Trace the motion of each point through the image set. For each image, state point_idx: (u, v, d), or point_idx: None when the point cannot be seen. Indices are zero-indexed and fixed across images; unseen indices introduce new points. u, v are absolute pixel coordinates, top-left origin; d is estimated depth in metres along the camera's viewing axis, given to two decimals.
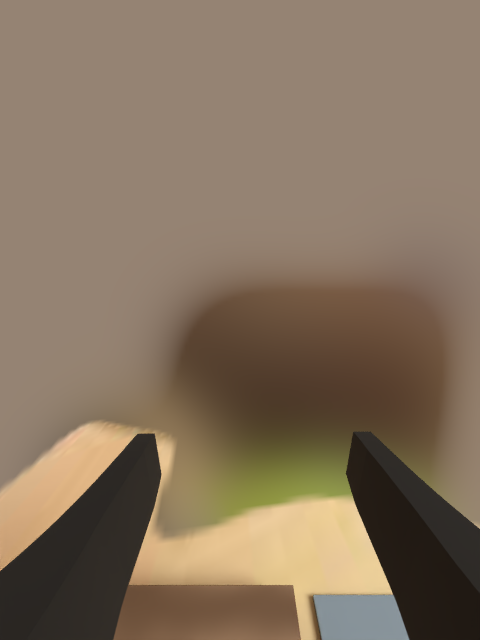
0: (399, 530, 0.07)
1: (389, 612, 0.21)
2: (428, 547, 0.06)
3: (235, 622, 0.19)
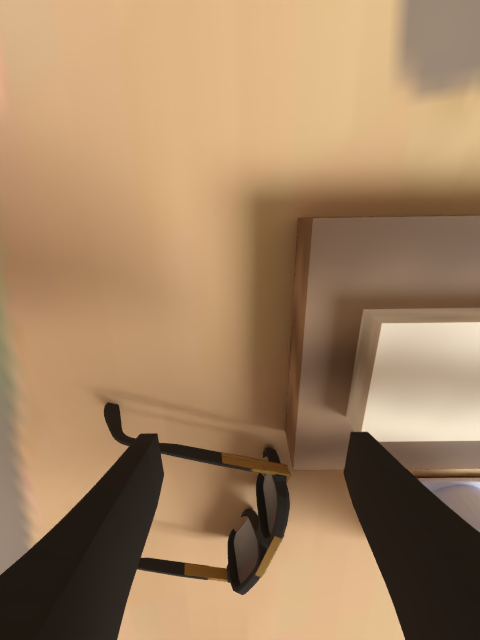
0: (395, 530, 0.07)
1: None
2: (424, 547, 0.06)
3: None
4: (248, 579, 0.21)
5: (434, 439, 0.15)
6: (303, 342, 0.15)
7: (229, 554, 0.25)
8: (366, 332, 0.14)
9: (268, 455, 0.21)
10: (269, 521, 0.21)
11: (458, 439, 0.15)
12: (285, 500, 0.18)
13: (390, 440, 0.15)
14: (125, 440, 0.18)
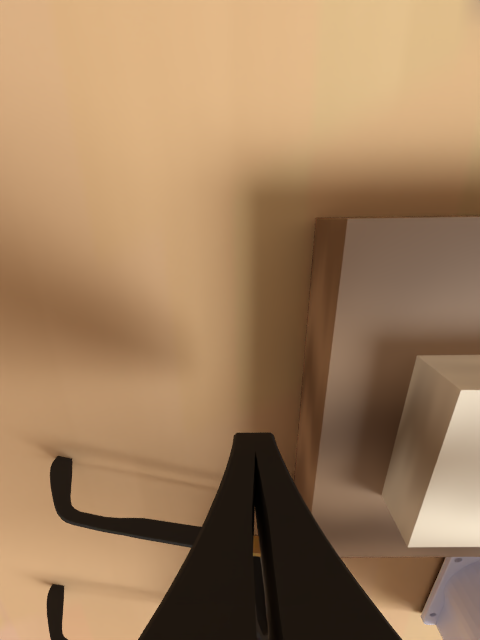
0: (264, 530, 0.07)
1: None
2: (270, 548, 0.06)
3: None
4: None
5: None
6: (325, 400, 0.10)
7: None
8: (423, 392, 0.09)
9: None
10: None
11: None
12: None
13: (453, 544, 0.10)
14: (72, 517, 0.13)
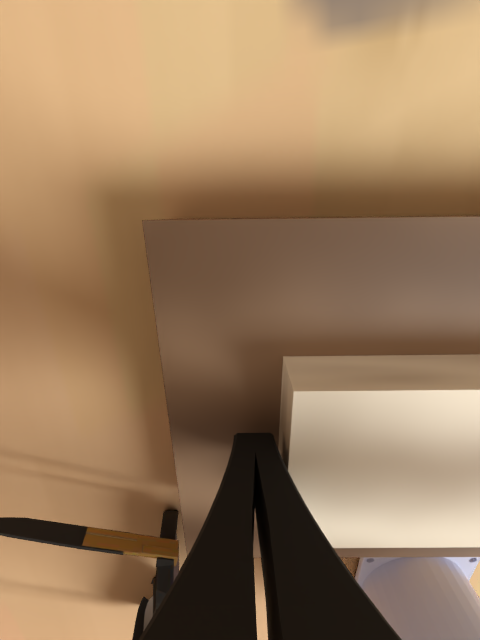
0: (264, 530, 0.07)
1: None
2: (269, 548, 0.06)
3: None
4: None
5: (392, 544, 0.10)
6: (167, 401, 0.10)
7: (135, 630, 0.20)
8: (285, 393, 0.09)
9: (163, 522, 0.16)
10: None
11: (427, 545, 0.10)
12: None
13: None
14: None
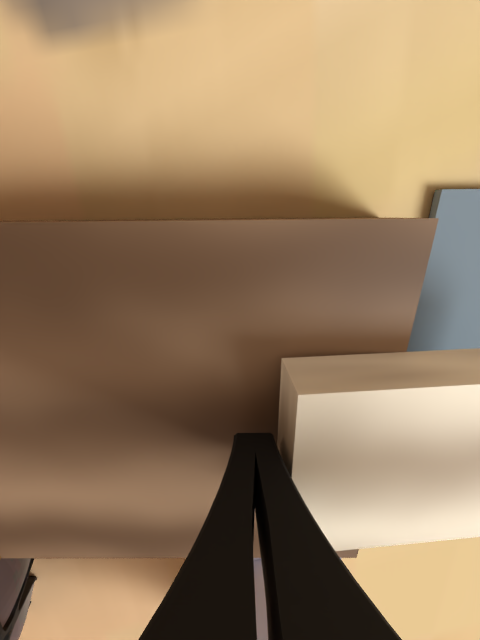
0: (264, 531, 0.07)
1: None
2: (269, 548, 0.06)
3: (281, 290, 0.09)
4: None
5: (393, 542, 0.10)
6: None
7: None
8: (285, 396, 0.09)
9: None
10: (12, 604, 0.17)
11: (427, 540, 0.10)
12: None
13: None
14: None
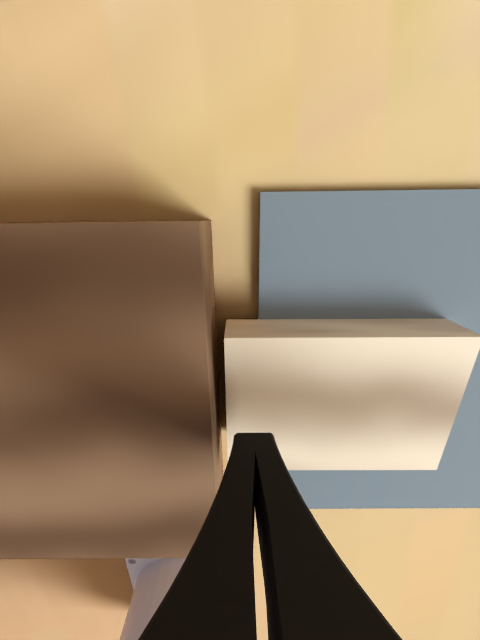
0: (264, 530, 0.07)
1: (404, 220, 0.11)
2: (270, 548, 0.06)
3: (64, 293, 0.09)
4: None
5: (313, 468, 0.13)
6: None
7: None
8: None
9: None
10: None
11: (340, 468, 0.13)
12: None
13: None
14: None
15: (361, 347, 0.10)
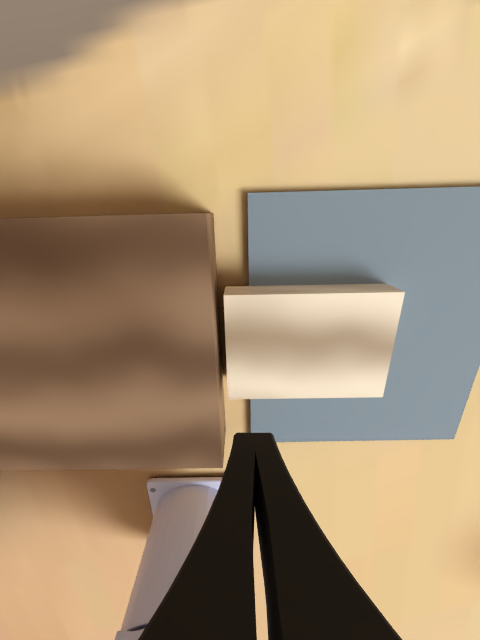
0: (264, 531, 0.07)
1: (350, 211, 0.15)
2: (270, 548, 0.06)
3: (118, 261, 0.13)
4: None
5: (291, 397, 0.17)
6: None
7: None
8: None
9: None
10: None
11: (310, 396, 0.17)
12: None
13: (254, 398, 0.17)
14: None
15: (319, 300, 0.15)
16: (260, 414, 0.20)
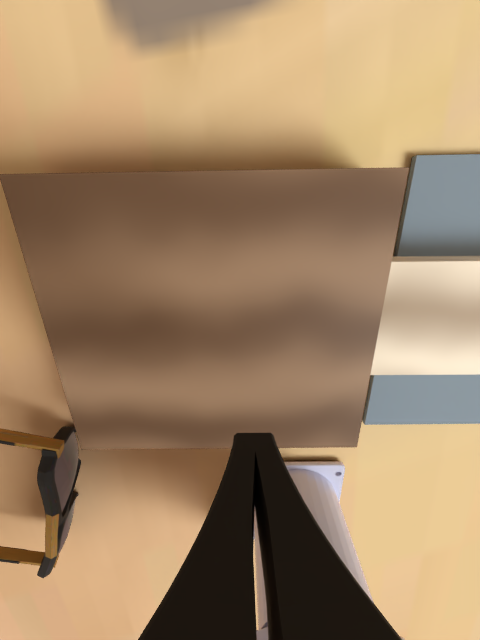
0: (264, 530, 0.07)
1: None
2: (270, 548, 0.06)
3: (304, 220, 0.12)
4: (42, 562, 0.21)
5: (433, 373, 0.17)
6: (41, 311, 0.14)
7: None
8: None
9: (58, 432, 0.20)
10: (65, 501, 0.21)
11: (455, 373, 0.17)
12: (45, 475, 0.18)
13: (395, 374, 0.17)
14: None
15: None
16: (380, 394, 0.20)
